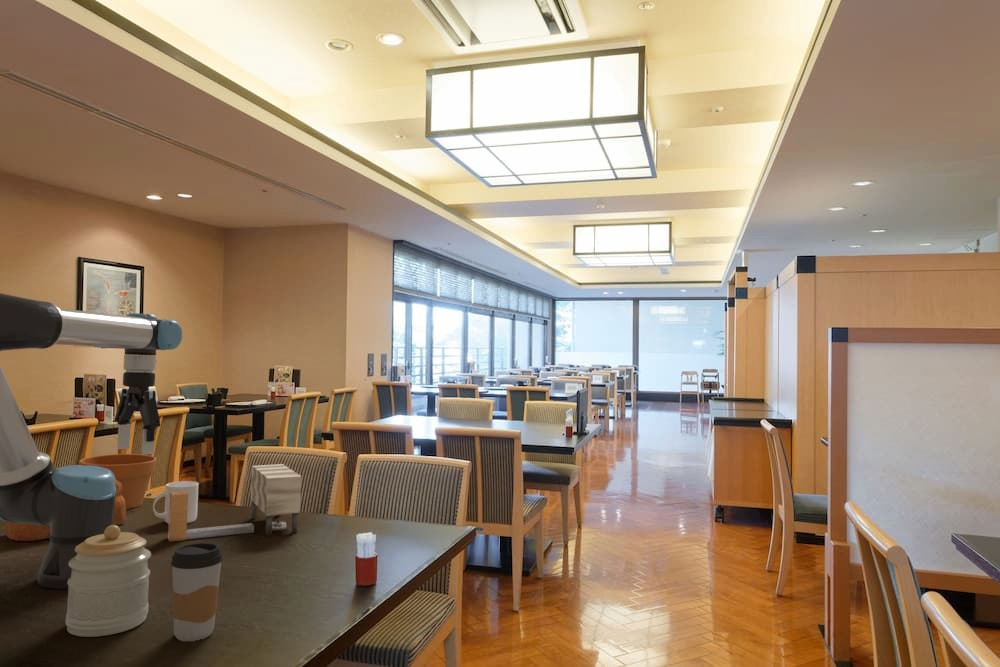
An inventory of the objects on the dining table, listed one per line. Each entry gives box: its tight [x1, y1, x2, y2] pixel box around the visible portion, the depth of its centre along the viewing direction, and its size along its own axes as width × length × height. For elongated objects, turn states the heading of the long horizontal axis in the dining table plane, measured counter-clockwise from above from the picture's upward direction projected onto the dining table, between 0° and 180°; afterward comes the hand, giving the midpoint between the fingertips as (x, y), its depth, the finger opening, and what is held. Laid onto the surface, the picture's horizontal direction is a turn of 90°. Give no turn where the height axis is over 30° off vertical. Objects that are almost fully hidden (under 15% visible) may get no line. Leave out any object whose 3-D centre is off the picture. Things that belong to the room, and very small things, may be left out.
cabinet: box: [250, 463, 302, 537], centre depth 190 cm, size 22×9×16 cm, turn 31°
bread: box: [5, 479, 127, 542], centre depth 179 cm, size 14×26×16 cm, turn 144°
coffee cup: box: [170, 542, 224, 642], centre depth 116 cm, size 8×8×15 cm
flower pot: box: [78, 453, 157, 510], centre depth 207 cm, size 21×21×15 cm
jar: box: [65, 525, 152, 638], centre depth 120 cm, size 13×13×18 cm
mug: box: [152, 480, 199, 525], centre depth 190 cm, size 9×12×11 cm
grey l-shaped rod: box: [167, 491, 255, 543], centre depth 178 cm, size 4×21×12 cm, turn 121°
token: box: [272, 520, 287, 532], centre depth 186 cm, size 5×5×2 cm
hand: (135, 451), depth 175 cm, fingers open, 13 cm apart
